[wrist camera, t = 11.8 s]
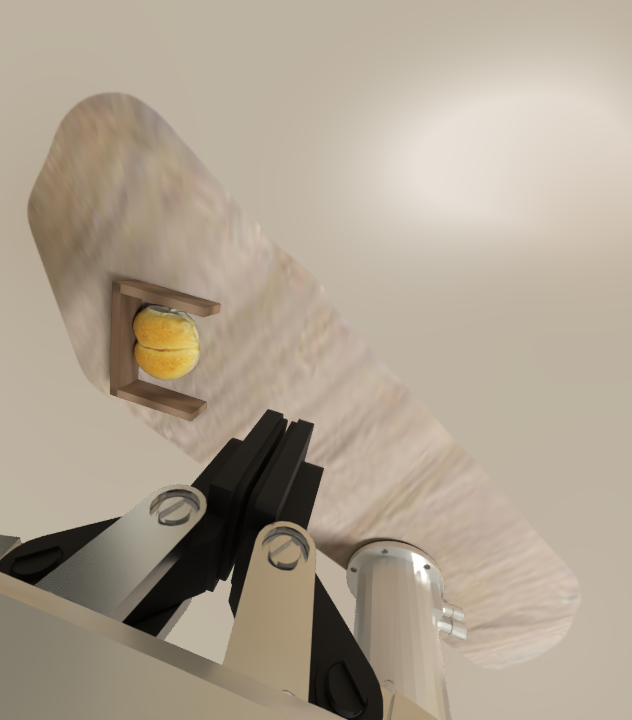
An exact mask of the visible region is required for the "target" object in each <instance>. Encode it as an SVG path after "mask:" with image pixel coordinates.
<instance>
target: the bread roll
mask: <svg viewBox="0 0 632 720" xmlns="http://www.w3.org/2000/svg"><path fill="white" fill-rule="evenodd" d="M133 330H134V333H135V336H136V338H137V340H138V342H137V344H136V346H135V348H134V355H135V359H136V361H137V363H138V365H139V366H140V367H141V368H142V369H143V370H144V371H145V372H146V373H148V374H149V375H151V376H153V377H155V378H158V379H161V380H173V379H177V378H180V377H182V376H184V375H185V374H187V373H189V372H190V371H191V370H192V369H193V368H194V367H195V365H196V364H197V362H198V359H199V356H200V348H199V342H200V337H199V333H198V329H197V327H196V325H195V323H194V321H193V320H192V319H191V317H189V316H188V315H187V314H186V313H185V312H183V311H181V310H177V309H174V308H170V307H165V306H158V305H153V306H152V305H150V306H148V307H147V308H146V309H144V310H142V311H141V312H139V313H138V315H137V316H136V318H135V320H134V323H133Z"/></svg>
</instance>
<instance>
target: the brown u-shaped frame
mask: <svg viewBox="0 0 632 720" xmlns="http://www.w3.org/2000/svg"><path fill="white" fill-rule="evenodd" d="M142 299H143V300H146V301H150V302H153V303H157V304H160V305H163V306H167V307H170V308H174V309H177V310H181V311H184V312H187V313H191V314H194V315H198V316H201V317H206V316H210V315H213V314H216V313H219V312H220V305H221V304H219V303H215V302H212V301H208V300H205V299H201V298H198V297H194V296H191V295H187V294H184V293H180V292H177V291H173V290H170V289H166V288H163V287H159V286H156V285H152V284H149V283H145V282H142V281H138V280H125V281H113V284H112V327H111V370H110V395H113V396H116V397H119V398H122V399H125V400H128V401H131V402H134V403H137V404H140V405H143V406H146V407H149V408H152V409H155V410H158V411H161V412H164V413H167V414H170V415H173V416H176V417H179V418H182V419H185V420H188V421H192V420H193V419H194V418H196V417H197V416H198V415H199V414H200V413H202V412H203V411H204V410H205V409H206V406H207V402H205V401H202V400H199V399H196V398H193V397H190V396H187V395H184V394H181V393H177V392H174V391H171V390H168V389H165V388H162V387H159V386H156V385H153V384H150V383H147V382H144V381H141V380H138V369H139V365H138V363H137V361H136V359H135V355H134V348H135V346H136V344H137V342H138V340H137V338H136V336H135V333H134V330H133V323H134V320H135V318H136V316H137V315H138V313H139V312H141V311H142Z"/></svg>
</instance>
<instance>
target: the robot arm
mask: <svg viewBox="0 0 632 720" xmlns="http://www.w3.org/2000/svg"><path fill="white" fill-rule="evenodd" d="M287 423H288V420H287V419H284V418H283V414H282V413H279V412H276V411H273V410H269V409H268V410H267V411H266V412H265V414H264V415H263V416H262V417H261V419H260V420H259V421H258V423H257V424H256V425H255V426H254V428H253V429H252V430H251V432H250V433H249V434H248V435H247V437H246V438H245V439H244V441H241V440H238V439H236V438H232V439H231V440H229V442H228V443H227V444H226V445H225V446H224V447H223V449H222V450H221V451H220V452H219V453H218V454H217V456H216V457H215V458H214V459H213V460H212V462H211V463H210V464H209V465H208V466H207V467H206V469H205V470H204V471H203V472H202V473H201V475H200V476H199V477H198V478H197V479H196V480H195V481H194V483H193V484H192V485H191V486H188V485H170V486H167V487H164V488H161V489H159V490H157V491H156V492H154V493H152V494H151V495H150V496H149V497H147V498H146V499H144V500H143V501H142V502H141V503H140V504H138V505H137V506H136V507H134V508H133V509H132V510H130V511H129V512H128V513H127V514H125V515H124V516H122V517H118V518H114V519H110V520H106V521H102V522H98V523H94V524H90V525H86V526H82V527H78V528H74V529H70V530H66V531H62V532H58V533H54V534H50V535H46V536H42V537H39V538H36V539H33V540H30V541H27V542H25V543H21V541H20V537H13V536H4V535H0V720H452V718H451V712H450V705H449V699H448V692H447V686H446V679H445V673H444V666H443V659H442V653H441V647H440V639H439V632H440V631H441V632H444V633H447V634H448V635H450V636H452V637H455V638H458V639H460V640H463V641H464V640H465V638H466V633H467V629H466V625H465V623H464V622H463V621H462V620H463V617H464V612H463V609H462V608H461V607H458V606H455V605H453V604H448V603H445V601H444V599H442V598H443V594H444V584H443V578H442V575H441V572H440V569H439V568H438V566H437V565H436V563H435V562H434V561H433V560H432V559H431V558H430V557H429V556H428V555H427V554H425V553H424V552H423V551H421V550H419V549H417V548H415V547H413V546H411V545H408V544H405V543H400V542H395V541H380V542H374V543H371V544H368V545H365V546H363V547H361V548H360V549H359V550H357V551H356V552H355V553H354V554H353V556H352V557H351V559H350V561H349V563H348V568H347V583H348V587H349V589H350V591H351V593H352V594H353V596H354V597H355V598H356V609H355V622H354V635H352V633H351V632H350V630H349V628H348V626H347V625H346V623H345V621H344V620H343V618H342V617H341V615H340V613H339V611H338V610H337V608H336V606H335V605H334V603H333V601H332V600H331V598H330V596H329V595H328V593H327V591H326V590H325V588H324V586H323V585H322V583H321V581H320V579H319V578H318V576H317V574H316V573H315V566H316V547H315V543H314V541H313V539H312V537H311V536H310V535H309V533H308V532H307V531H306V530H307V527H308V523H309V520H310V516H311V513H312V509H313V506H314V502H315V498H316V495H317V491H318V488H319V484H320V481H321V477H322V474H323V470H324V468H322V467H319V466H316V465H313V464H310V463H307V462H304V461H305V457H306V453H307V450H308V446H309V442H310V439H311V435H312V431H313V428H314V424H313V423H310V422H307V421H304V420H301V419H299V420H298V422H297V423H296V422H293V421H292V422H291V424H290V426H289V427H288V429H287V431H286V427H287ZM285 431H286V433H285ZM234 564H235V565H234ZM233 566H234V570H233V575H232V579H231V584H232V587H231V592H230V596H229V604H230V607H231V610H232V613H233V615H234V619H235V620H234V625H233V628H232V632H231V636H230V639H229V643H228V647H227V651H226V654H225V658H224V662H223V665H220V664H218V663H215V662H213V661H211V660H209V659H206V658H204V657H201V656H199V655H196V654H194V653H192V652H190V651H187V650H185V649H183V648H180V647H177V646H175V645H173V644H170V643H168V642H166V641H164V639H165V638H166V636H167V635H168V634H169V632H170V631H171V630H172V628H173V627H174V626H175V624H176V623H177V622H178V620H179V619H180V618H181V616H182V615H183V613H184V612H185V611H186V609H187V607H188V606H189V604H190V602H191V599H192V597H194V596H197V595H199V594H201V593H204V592H205V591H206V590H208V591H211V592H213V591H214V589H215V587H216V585H217V583H218V581H219V579H221V580H223V581H226V580H227V578H228V576H229V574H230V572H231V570H232V568H233ZM444 614H445V615H448V616H450V617H447V616H445V615H444Z"/></svg>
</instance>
